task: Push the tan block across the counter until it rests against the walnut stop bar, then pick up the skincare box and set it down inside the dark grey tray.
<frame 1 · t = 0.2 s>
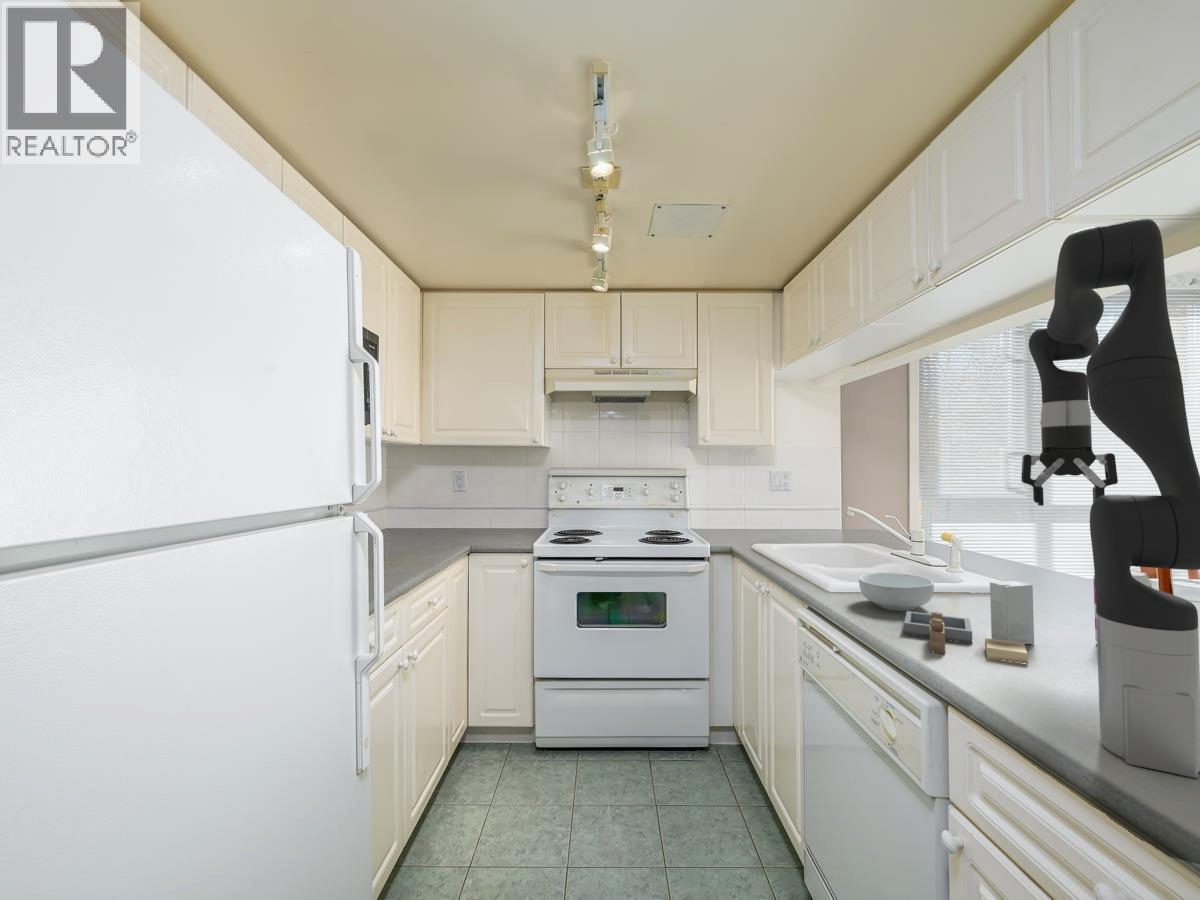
hand: (1068, 506, 106), 28 cm above the countertop, tool pointing down, fingers open, 8 cm apart
cereal bowl: (895, 607, 137), on the countertop
stop bar: (937, 646, 108), on the countertop
skincare box: (1012, 643, 110), on the countertop
supplement can: (1124, 649, 105), on the countertop
tray: (937, 632, 117), on the countertop
tan block: (1005, 658, 102), on the countertop
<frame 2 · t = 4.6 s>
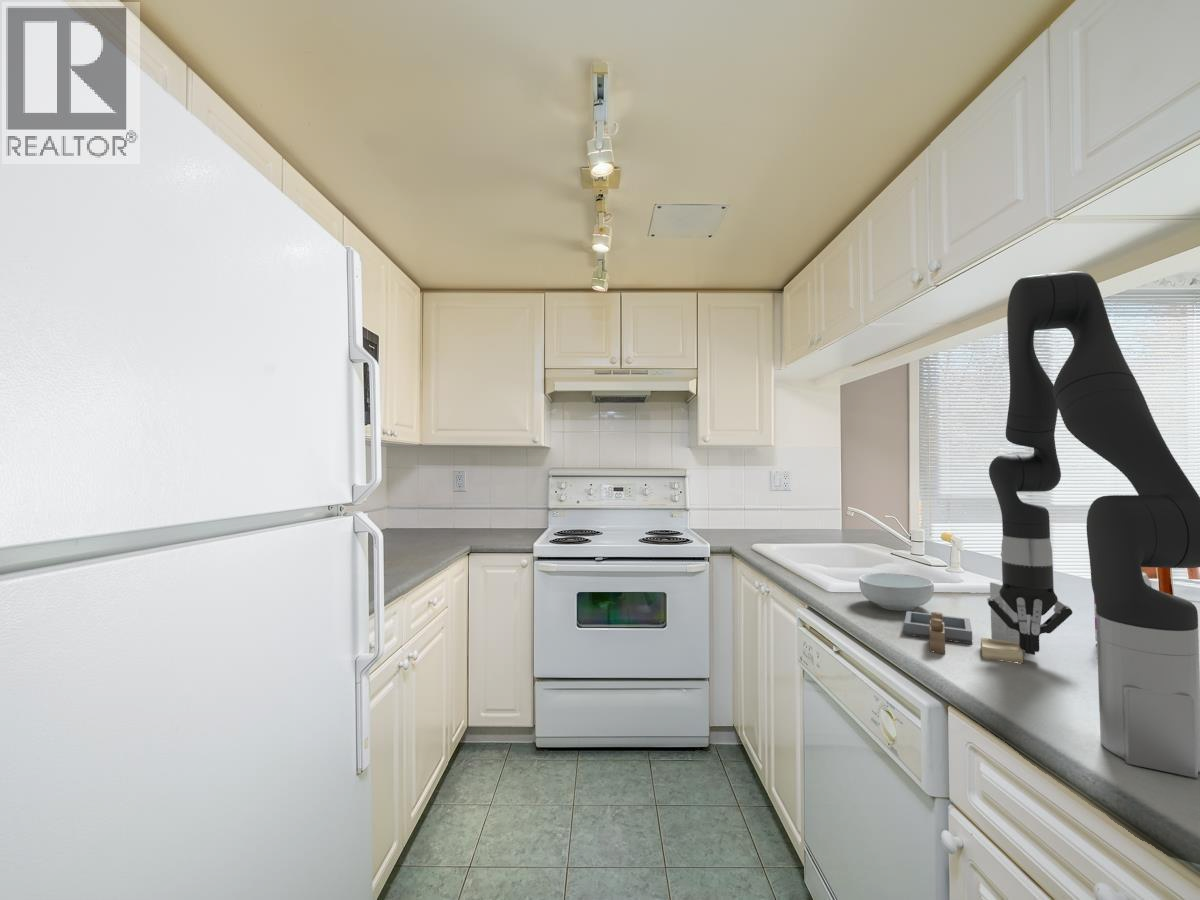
hand: (1029, 652, 100), 1 cm above the countertop, tool pointing down, fingers closed
tan block: (1001, 657, 103), on the countertop, touching gripper
everything else where it was.
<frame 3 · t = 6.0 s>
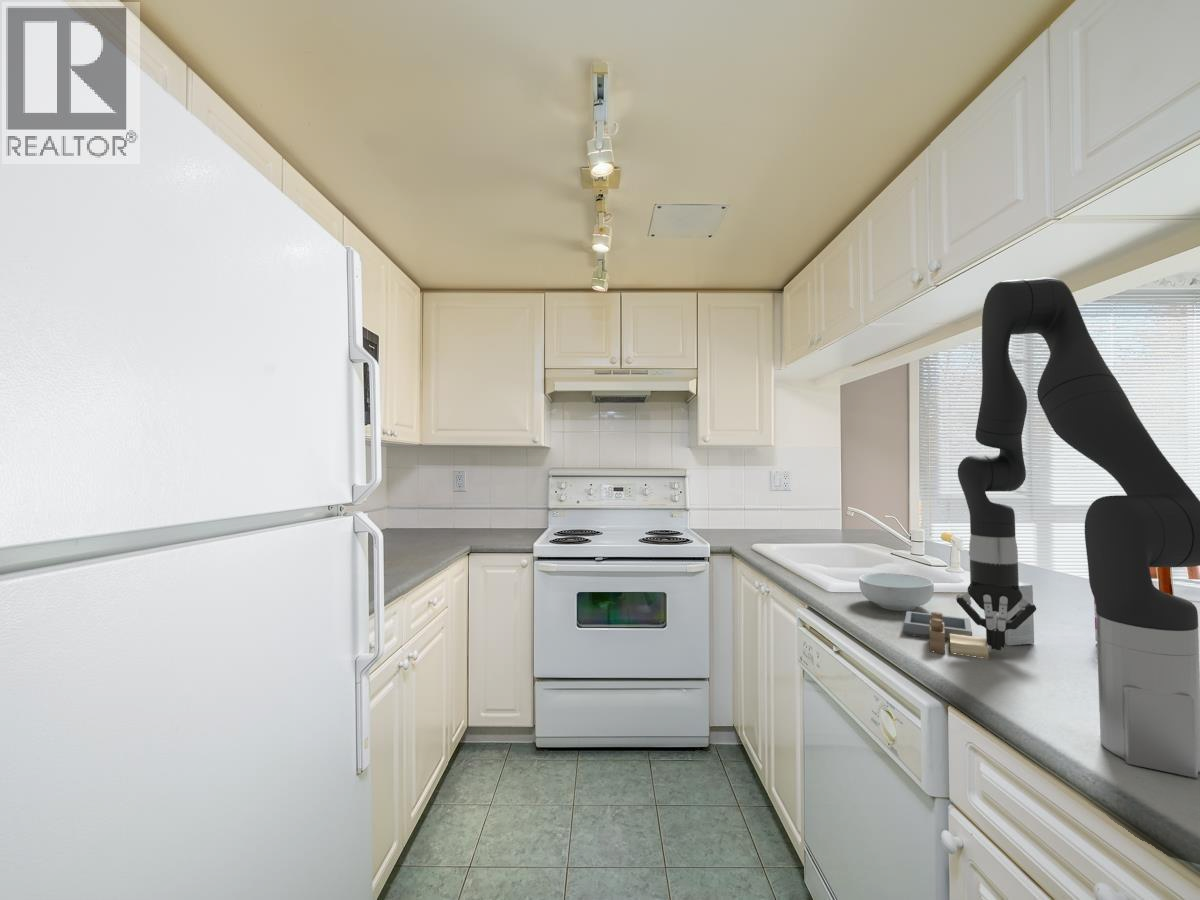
hand: (996, 648, 103), 1 cm above the countertop, tool pointing down, fingers closed
tan block: (968, 653, 105), on the countertop
everything else where it was.
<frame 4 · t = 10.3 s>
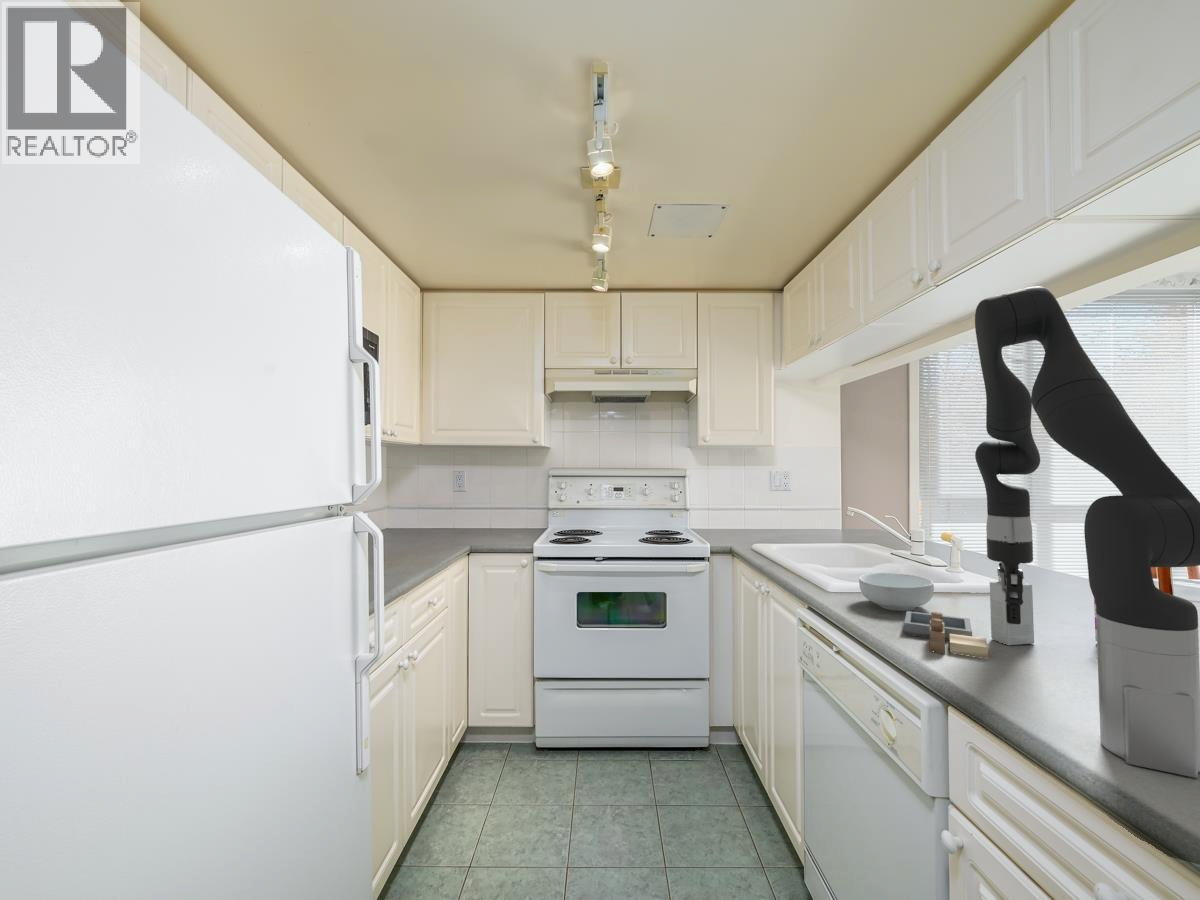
hand: (1011, 618, 110), 5 cm above the countertop, tool pointing down, fingers closed on skincare box, 6 cm apart
skincare box: (1012, 643, 110), on the countertop, touching gripper
everything else where it was.
when the fingers open (6 cm above the countertop, at t = 15.7 s): skincare box stays where it is, resting on tray.
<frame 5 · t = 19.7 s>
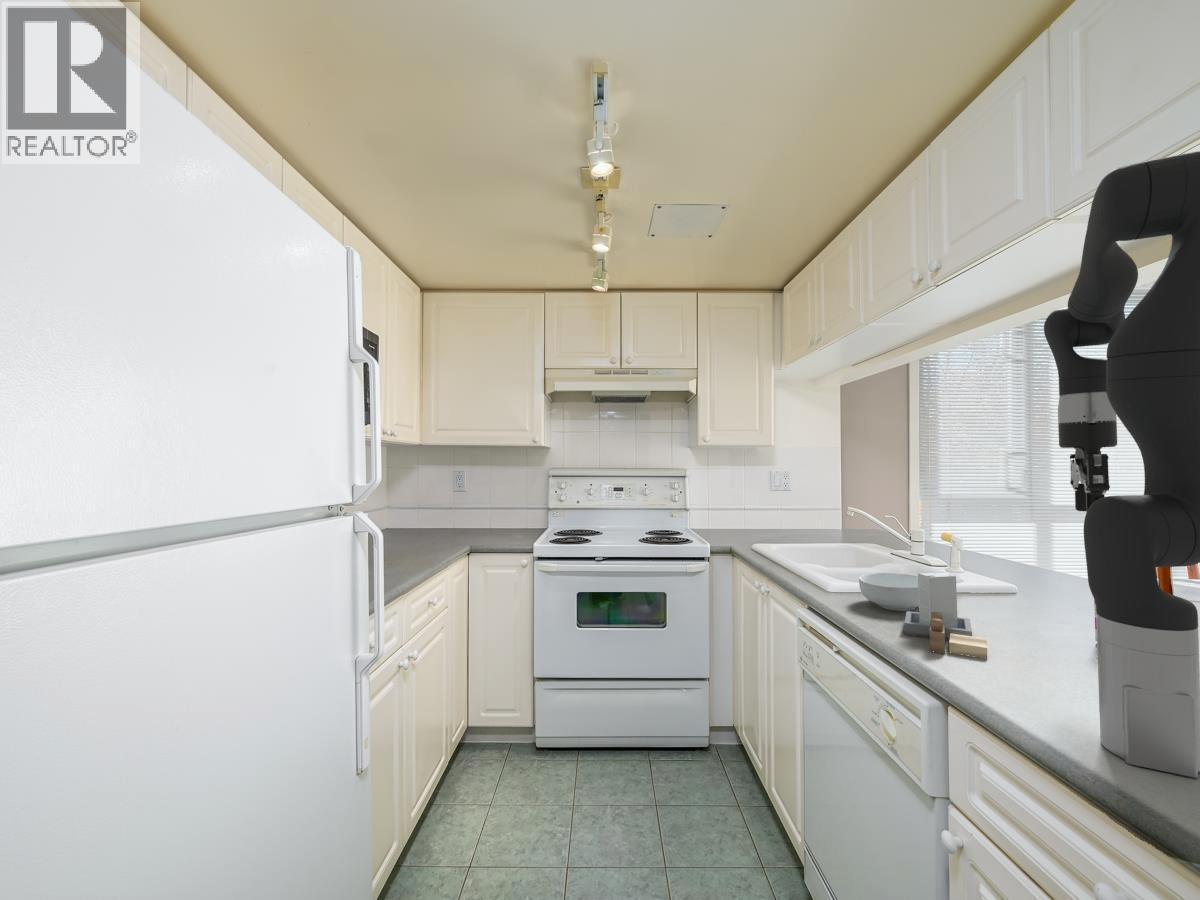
hand: (1089, 513, 93), 28 cm above the countertop, tool pointing down, fingers open, 8 cm apart
skincare box: (938, 630, 116), resting on tray
everything else where it was.
at the end: tan block 0.3 cm from the target spot, on the countertop; skincare box inside the target area on the tray (0.3 cm from its centre), point 0.4 cm above the tray's base; the gripper is holding nothing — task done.
